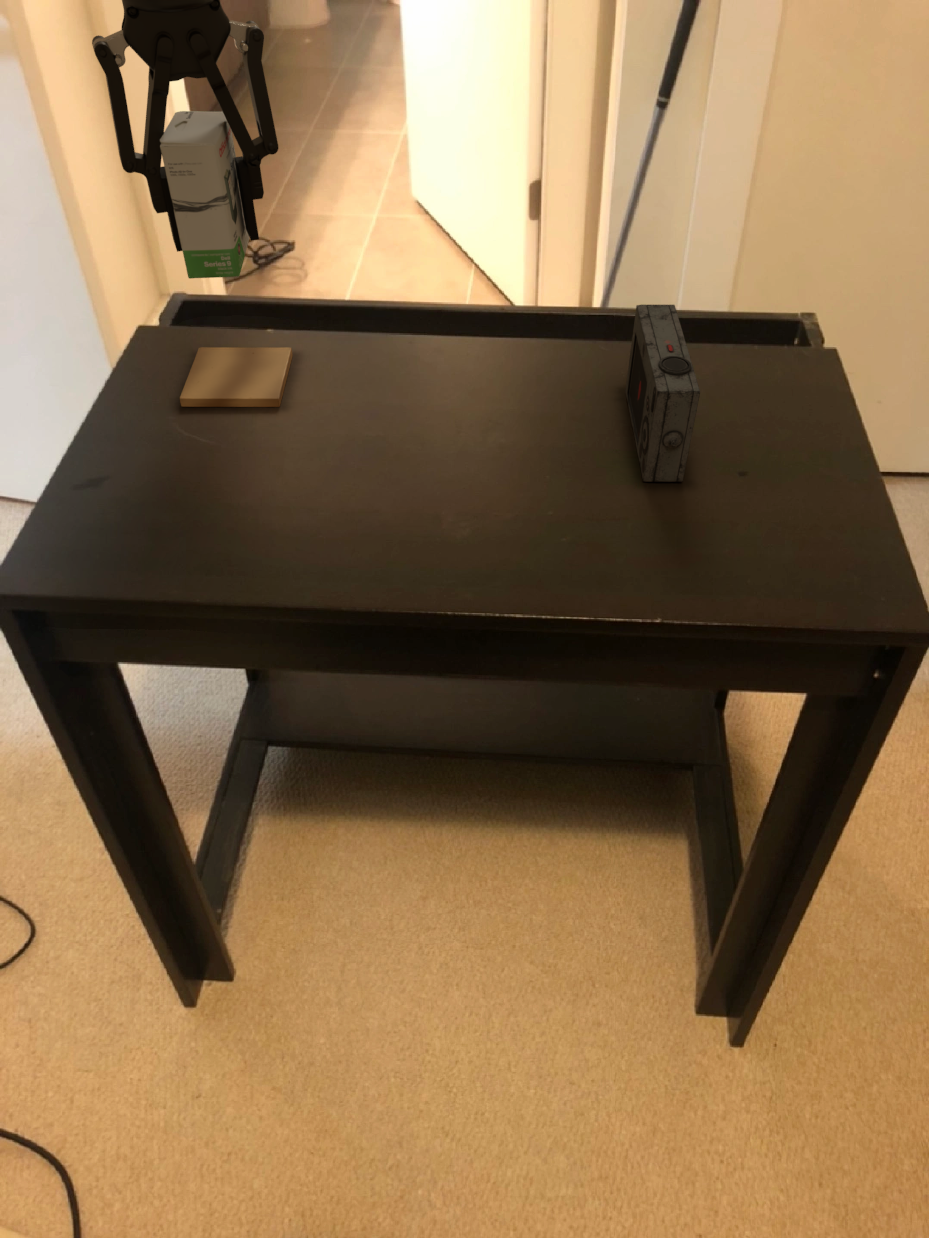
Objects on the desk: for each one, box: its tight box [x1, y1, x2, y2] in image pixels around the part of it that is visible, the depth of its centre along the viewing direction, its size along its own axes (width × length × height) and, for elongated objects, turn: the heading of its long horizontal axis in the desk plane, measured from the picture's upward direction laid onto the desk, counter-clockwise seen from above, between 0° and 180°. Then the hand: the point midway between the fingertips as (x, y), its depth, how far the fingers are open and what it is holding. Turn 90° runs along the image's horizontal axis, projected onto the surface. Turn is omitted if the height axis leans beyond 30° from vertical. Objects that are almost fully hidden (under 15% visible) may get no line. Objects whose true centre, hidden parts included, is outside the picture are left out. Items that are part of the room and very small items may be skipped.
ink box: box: [160, 110, 250, 279], centre depth 88 cm, size 9×5×12 cm, turn 2°
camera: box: [624, 304, 701, 483], centre depth 92 cm, size 16×4×10 cm, turn 0°
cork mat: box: [179, 346, 293, 408], centre depth 103 cm, size 10×10×1 cm
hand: (216, 239), depth 91 cm, fingers closed on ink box, 6 cm apart
